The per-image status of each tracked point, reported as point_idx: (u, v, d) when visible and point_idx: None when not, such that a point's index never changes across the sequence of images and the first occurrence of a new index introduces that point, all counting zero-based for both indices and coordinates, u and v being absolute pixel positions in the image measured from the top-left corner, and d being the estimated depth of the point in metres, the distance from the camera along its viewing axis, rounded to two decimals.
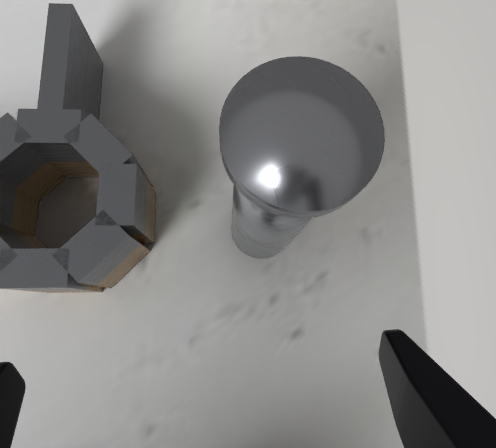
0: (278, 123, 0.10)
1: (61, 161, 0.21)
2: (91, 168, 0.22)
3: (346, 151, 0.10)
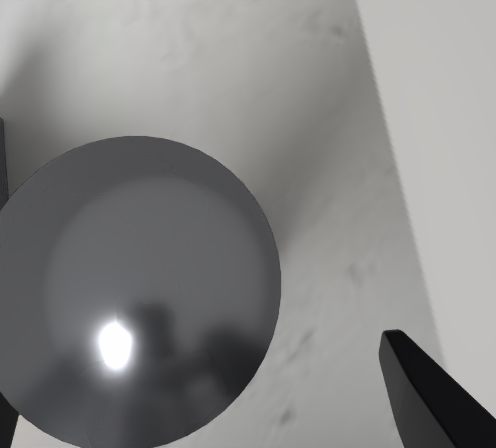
0: (79, 277, 0.05)
1: None
2: None
3: (210, 309, 0.05)
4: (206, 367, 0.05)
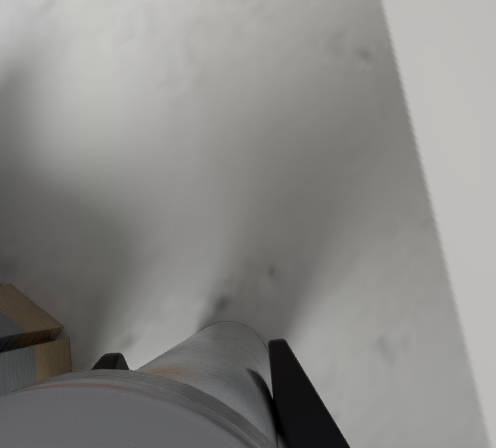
0: None
1: None
2: None
3: None
4: None
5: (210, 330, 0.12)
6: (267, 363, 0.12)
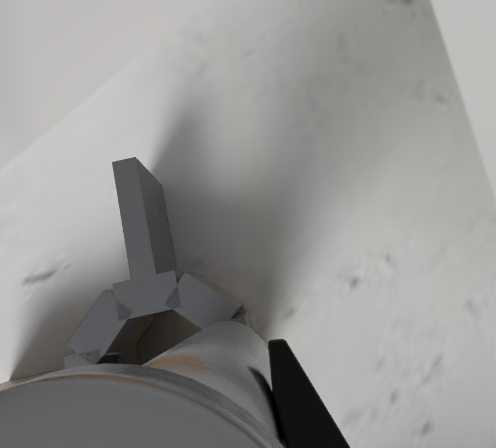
0: None
1: (157, 312, 0.20)
2: None
3: None
4: None
5: (211, 329, 0.12)
6: (268, 362, 0.12)
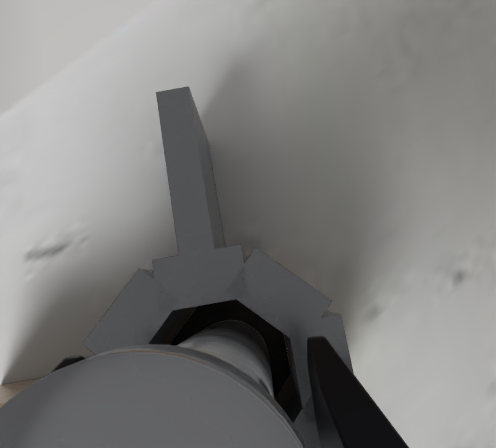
0: None
1: None
2: None
3: None
4: None
5: (216, 326, 0.14)
6: (267, 356, 0.14)
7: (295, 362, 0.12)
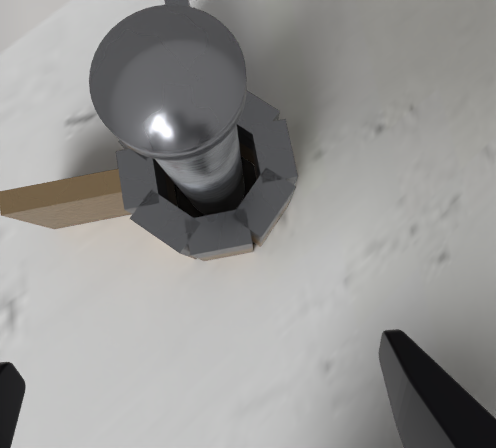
0: (143, 74, 0.11)
1: None
2: None
3: (210, 87, 0.11)
4: (208, 113, 0.11)
5: None
6: None
7: (256, 148, 0.19)
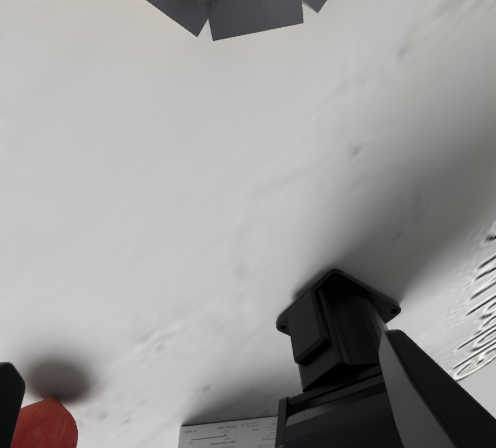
0: None
1: None
2: None
3: None
4: None
5: None
6: None
7: None
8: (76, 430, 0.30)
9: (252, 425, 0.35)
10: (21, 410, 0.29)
